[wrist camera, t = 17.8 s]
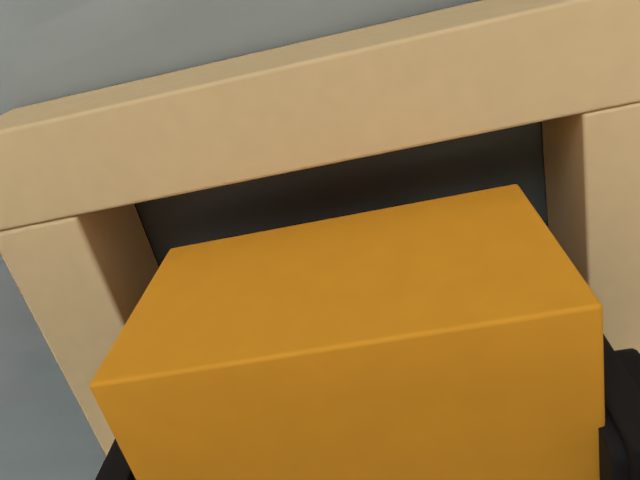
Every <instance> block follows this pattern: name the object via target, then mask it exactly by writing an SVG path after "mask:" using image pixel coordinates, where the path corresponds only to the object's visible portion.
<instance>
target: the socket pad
mask: <svg viewBox="0 0 640 480" xmlns="http://www.w3.org/2000/svg"><path fill="white" fill-rule="evenodd" d="M541 121H542V134H543V150H544V166H545V182H546V198H547V214H548V228H549V230H550V231H551V233H552V234H553V236H554V237H555V239H556V240H557V241H558V243H559V244H560V246H561V247H562V249H563V250H564V251H565V253H566V254H567V256H568V257H569V259H570V260H571V261H572V263H573V264H574V266H575V267H576V269H577V270H578V271H579V273H580V274H581V276H582V277H583V279H584V280H585V281H586V283H587V284H588V286H589V287H590V289H591V290H592V291H593V293H594V294H595V296H596V297H597V299H598V300H599V301H600V303H601V304H602V306H603V334H604V335H605V337H606V338H607V340H608V342H609V343H610V345H611V346H612V348H613V349H614V351H615V350H622V349H629V348H633V349H636V350H637V351H638V352H639V353H640V0H481V1H477V2H472V3H468V4H464V5H459V6H455V7H451V8H446V9H442V10H438V11H433V12H429V13H425V14H421V15H416V16H412V17H408V18H403V19H399V20H395V21H390V22H386V23H382V24H377V25H373V26H369V27H365V28H360V29H356V30H352V31H347V32H343V33H339V34H334V35H330V36H326V37H321V38H317V39H313V40H309V41H304V42H300V43H296V44H291V45H287V46H283V47H278V48H274V49H270V50H265V51H261V52H257V53H253V54H248V55H244V56H240V57H235V58H231V59H227V60H222V61H218V62H214V63H209V64H205V65H201V66H197V67H192V68H188V69H184V70H179V71H175V72H171V73H166V74H162V75H158V76H153V77H149V78H145V79H141V80H136V81H132V82H128V83H123V84H119V85H115V86H110V87H106V88H102V89H97V90H93V91H89V92H85V93H80V94H76V95H72V96H67V97H63V98H59V99H54V100H50V101H46V102H41V103H37V104H33V105H29V106H24V107H20V108H16V109H13V110H11V111H9V112H7V113H5V114H3V115H1V116H0V254H1V256H2V257H3V259H4V261H5V263H6V265H7V267H8V269H9V271H10V273H11V275H12V277H13V279H14V280H15V282H16V284H17V286H18V288H19V290H20V292H21V294H22V296H23V298H24V300H25V301H26V303H27V305H28V307H29V309H30V311H31V313H32V315H33V317H34V319H35V321H36V323H37V324H38V326H39V328H40V330H41V332H42V334H43V336H44V338H45V340H46V342H47V344H48V345H49V347H50V349H51V351H52V353H53V355H54V357H55V359H56V361H57V363H58V365H59V367H60V368H61V370H62V372H63V374H64V376H65V378H66V380H67V382H68V384H69V386H70V388H71V389H72V391H73V393H74V395H75V397H76V399H77V401H78V403H79V405H80V407H81V409H82V411H83V412H84V414H85V416H86V418H87V420H88V422H89V424H90V426H91V428H92V430H93V432H94V433H95V435H96V437H97V439H98V441H99V443H100V445H101V447H102V449H103V451H104V453H105V455H106V456H107V454H108V452H109V450H110V448H111V446H112V444H113V442H114V440H115V437H114V435H113V433H112V431H111V429H110V427H109V425H108V423H107V421H106V419H105V417H104V415H103V413H102V411H101V409H100V407H99V405H98V403H97V401H96V399H95V397H94V395H93V393H92V391H91V389H90V382H91V381H92V379H93V377H94V376H95V374H96V372H97V371H98V369H99V367H100V366H101V364H102V362H103V361H104V359H105V357H106V356H107V354H108V352H109V351H110V349H111V347H112V346H113V344H114V342H115V340H116V339H117V337H118V335H119V334H120V332H121V330H122V329H123V327H124V325H125V324H126V322H127V320H128V319H129V317H130V315H131V314H132V312H133V310H134V309H135V307H136V305H137V304H138V302H139V300H140V299H141V297H142V295H143V293H144V292H145V290H146V288H147V287H148V285H149V283H150V282H151V280H152V278H153V277H154V275H155V273H156V272H157V270H158V268H159V267H158V264H157V261H156V259H155V256H154V254H153V251H152V249H151V246H150V244H149V241H148V239H147V236H146V234H145V231H144V229H143V226H142V223H141V221H140V218H139V216H138V213H137V211H136V208H135V206H134V204H135V203H140V202H145V201H150V200H154V199H159V198H164V197H169V196H174V195H179V194H184V193H189V192H194V191H199V190H204V189H209V188H214V187H219V186H224V185H229V184H234V183H239V182H244V181H249V180H254V179H259V178H263V177H268V176H273V175H278V174H283V173H288V172H293V171H298V170H303V169H308V168H313V167H318V166H323V165H328V164H333V163H338V162H343V161H348V160H353V159H358V158H363V157H368V156H372V155H377V154H382V153H387V152H392V151H397V150H402V149H407V148H412V147H417V146H422V145H427V144H432V143H437V142H442V141H447V140H452V139H457V138H462V137H467V136H472V135H476V134H481V133H486V132H491V131H496V130H501V129H506V128H511V127H516V126H521V125H526V124H531V123H536V122H541Z"/></svg>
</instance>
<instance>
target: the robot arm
mask: <svg viewBox="0 0 640 480" xmlns="http://www.w3.org/2000/svg"><path fill="white" fill-rule="evenodd" d="M603 348H604V400H605V426H603V427H600V428H598V433H599V472H600V480H640V353H639V352H638V351H637V350H636V349H633V348H629V349H622V350H615V351H614V349H613V348H612V346H611V345H610V343H609V342H608V340H607V338H606V337H605V335H604V334H603ZM95 480H136V479H135V477H134V475H133V473H132V471H131V469H130V467H129V465H128V463H127V461H126V459H125V457H124V455H123V453H122V451H121V449H120V447H119V445H118V443H117V441H116V439H115V440H114V442H113V444H112V446H111V448H110V450H109V452H108V454H107V456H106V458H105V461H104V463H103V465H102V467H101V469H100V471H99V473H98V475H97V477H96V479H95Z"/></svg>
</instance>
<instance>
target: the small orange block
mask: <svg viewBox="0 0 640 480" xmlns="http://www.w3.org/2000/svg"><path fill="white" fill-rule="evenodd" d="M90 389H91V391H92V393H93V395H94V397H95V399H96V401H97V403H98V405H99V407H100V409H101V411H102V413H103V415H104V417H105V419H106V421H107V423H108V425H109V427H110V429H111V431H112V433H113V435H114V437H115V439H116V441H117V443H118V445H119V447H120V449H121V451H122V453H123V455H124V457H125V459H126V461H127V463H128V465H129V467H130V469H131V471H132V473H133V475H134V477H135V479H136V480H600V472H599V433H598V428H600V427H603V426H605V400H604V348H603V306H602V304H601V303H600V301H599V300H598V299H597V297H596V296H595V294H594V293H593V291H592V290H591V289H590V287H589V286H588V284H587V283H586V281H585V280H584V279H583V277H582V276H581V274H580V273H579V271H578V270H577V269H576V267H575V266H574V264H573V263H572V261H571V260H570V259H569V257H568V256H567V254H566V253H565V251H564V250H563V249H562V247H561V246H560V244H559V243H558V241H557V240H556V239H555V237H554V236H553V234H552V233H551V231H550V230H549V228H548V227H547V226H546V224H545V223H544V221H543V220H542V218H541V217H540V216H539V214H538V213H537V211H536V210H535V208H534V207H533V206H532V204H531V203H530V201H529V200H528V198H527V197H526V196H525V194H524V193H523V191H522V190H521V188H520V187H519V186H518V185H517V184H513V185H507V186H502V187H497V188H491V189H486V190H481V191H475V192H470V193H465V194H459V195H454V196H449V197H443V198H438V199H433V200H427V201H422V202H417V203H411V204H406V205H401V206H395V207H390V208H385V209H379V210H374V211H368V212H363V213H358V214H352V215H347V216H342V217H336V218H331V219H326V220H320V221H315V222H310V223H304V224H299V225H294V226H288V227H283V228H278V229H272V230H267V231H262V232H256V233H251V234H246V235H240V236H235V237H230V238H224V239H219V240H214V241H208V242H203V243H198V244H192V245H187V246H182V247H176V248H171V249H170V250H169V252H168V253H167V255H166V257H165V258H164V260H163V262H162V263H161V265H160V267H159V268H158V270H157V272H156V273H155V275H154V277H153V278H152V280H151V282H150V283H149V285H148V287H147V288H146V290H145V292H144V293H143V295H142V297H141V299H140V300H139V302H138V304H137V305H136V307H135V309H134V310H133V312H132V314H131V315H130V317H129V319H128V320H127V322H126V324H125V325H124V327H123V329H122V330H121V332H120V334H119V335H118V337H117V339H116V340H115V342H114V344H113V346H112V347H111V349H110V351H109V352H108V354H107V356H106V357H105V359H104V361H103V362H102V364H101V366H100V367H99V369H98V371H97V372H96V374H95V376H94V377H93V379H92V381H91V382H90Z"/></svg>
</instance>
